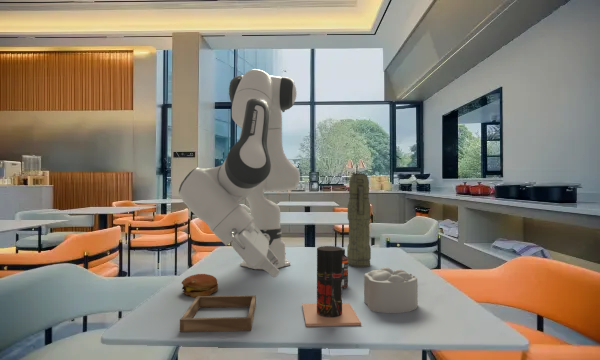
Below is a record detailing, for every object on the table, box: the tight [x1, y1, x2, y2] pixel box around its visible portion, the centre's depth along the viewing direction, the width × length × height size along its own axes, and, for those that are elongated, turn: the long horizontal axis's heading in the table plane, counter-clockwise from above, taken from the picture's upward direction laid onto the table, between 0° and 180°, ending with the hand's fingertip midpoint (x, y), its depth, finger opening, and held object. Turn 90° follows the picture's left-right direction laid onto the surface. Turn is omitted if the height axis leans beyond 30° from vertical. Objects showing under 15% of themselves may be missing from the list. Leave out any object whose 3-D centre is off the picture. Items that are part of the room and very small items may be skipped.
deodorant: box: [316, 245, 343, 317], centre depth 78 cm, size 6×6×15 cm
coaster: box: [302, 302, 362, 328], centre depth 78 cm, size 12×12×1 cm
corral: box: [179, 294, 257, 333], centre depth 76 cm, size 15×15×2 cm
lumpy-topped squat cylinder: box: [363, 266, 419, 314], centre depth 85 cm, size 10×13×9 cm
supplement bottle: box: [341, 247, 349, 289], centre depth 100 cm, size 6×6×11 cm
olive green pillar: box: [346, 173, 372, 268], centre depth 128 cm, size 9×12×35 cm
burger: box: [181, 273, 219, 298], centre depth 94 cm, size 10×9×5 cm
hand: (277, 268), depth 77 cm, fingers open, 8 cm apart
